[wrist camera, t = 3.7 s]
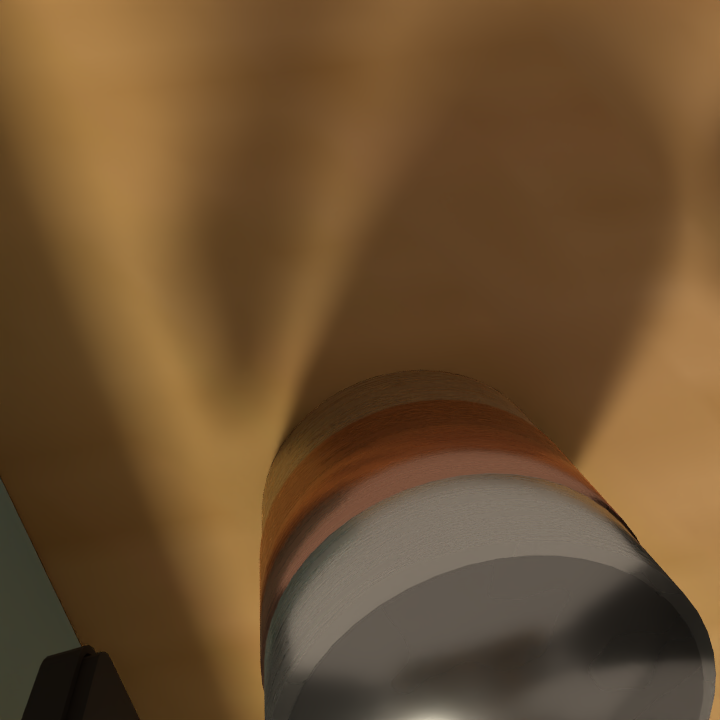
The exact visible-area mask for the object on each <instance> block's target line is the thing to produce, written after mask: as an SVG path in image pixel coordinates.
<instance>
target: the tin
mask: <svg viewBox="0 0 720 720" xmlns="http://www.w3.org/2000/svg"><path fill="white" fill-rule="evenodd" d="M260 663H261V675H262V685H263V689H264V695H265V720H709V718H710V713H711V709H712V704H713V699H714V693H715V678H716V671H715V662H714V652H713V649H712V645H711V642H710V638H709V635H708V631H707V629H706V627H705V625H704V623H703V621H702V619H701V617H700V615H699V613H698V612H697V610H696V609H695V608H694V606H693V605H692V604H691V602H690V601H689V600H688V598H687V597H686V596H685V594H684V593H683V592H682V591H681V590H680V589H679V588H678V586H677V585H676V584H675V583H674V582H673V581H672V580H671V579H670V577H669V576H668V575H667V574H666V573H665V572H664V571H663V570H662V568H661V567H660V566H659V565H658V564H657V563H656V562H655V561H654V559H653V558H652V557H651V556H650V555H649V554H648V553H647V552H646V550H645V549H644V548H643V547H642V546H641V545H640V543H639V541H638V540H637V538H636V536H635V535H634V534H633V532H632V531H631V530H630V528H629V527H628V526H627V524H626V523H625V522H624V520H623V519H622V518H621V517H620V516H619V515H618V514H617V513H616V512H615V510H614V509H613V508H612V507H611V506H610V505H609V504H608V503H607V502H606V500H605V499H604V498H603V497H602V496H601V495H600V494H599V493H598V492H597V490H596V489H595V488H594V487H593V486H592V485H591V484H590V483H589V482H588V480H587V479H586V478H585V477H584V476H583V475H582V474H581V473H580V472H579V470H578V469H577V468H576V467H575V466H574V465H573V464H572V463H571V462H570V460H569V459H568V458H567V457H566V456H565V455H564V454H563V453H562V452H561V450H560V449H559V448H558V447H557V446H556V445H555V444H554V443H553V442H552V441H551V440H550V439H549V438H548V437H547V436H546V435H545V434H543V433H542V432H541V431H540V430H539V429H537V428H536V427H535V426H534V424H533V423H532V422H531V421H530V420H529V419H528V418H527V417H526V415H525V414H524V413H523V412H522V411H521V410H520V409H519V408H518V407H517V406H516V405H515V404H514V403H513V402H512V401H510V400H509V399H508V398H507V397H505V396H504V395H502V394H501V393H499V392H498V391H497V390H495V389H493V388H491V387H489V386H487V385H485V384H483V383H481V382H479V381H477V380H474V379H471V378H468V377H465V376H462V375H458V374H452V373H447V372H442V371H427V370H417V371H402V372H396V373H391V374H386V375H381V376H377V377H374V378H371V379H368V380H365V381H362V382H359V383H357V384H355V385H353V386H351V387H349V388H346V389H344V390H342V391H340V392H339V393H337V394H336V395H334V396H332V397H331V398H329V399H327V400H326V401H324V402H323V403H322V404H320V405H319V406H318V407H317V408H315V409H314V410H313V411H312V412H310V413H309V414H308V415H307V416H306V417H305V418H304V419H303V420H302V421H301V422H300V423H299V424H298V425H297V426H296V427H295V428H294V430H293V431H292V432H291V434H290V435H289V436H288V438H287V439H286V440H285V442H284V443H283V445H282V446H281V448H280V450H279V452H278V454H277V455H276V457H275V459H274V461H273V464H272V466H271V469H270V471H269V474H268V476H267V480H266V484H265V489H264V493H263V502H262V539H261V548H260Z"/></svg>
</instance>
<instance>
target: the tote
mask: <svg viewBox="0 0 720 720" xmlns="http://www.w3.org/2000/svg"><path fill="white" fill-rule="evenodd" d="M78 647H81V645H80V643H79V641H78V639H77V637H76V635H75V633H74V630H73V628H72V626H71V624H70V622H69V620H68V618H67V616H66V614H65V612H64V610H63V607H62V605H61V603H60V601H59V599H58V597H57V595H56V593H55V591H54V589H53V587H52V585H51V582H50V580H49V578H48V576H47V574H46V572H45V570H44V568H43V566H42V564H41V562H40V559H39V557H38V555H37V553H36V551H35V549H34V547H33V545H32V543H31V541H30V539H29V537H28V534H27V532H26V530H25V528H24V526H23V524H22V522H21V520H20V518H19V516H18V514H17V511H16V509H15V507H14V505H13V503H12V501H11V499H10V497H9V495H8V493H7V491H6V488H5V486H4V484H3V482H2V480H1V478H0V720H21V719H22V716H23V713H24V710H25V707H26V705H27V702H28V699H29V696H30V693H31V690H32V688H33V685H34V682H35V679H36V676H37V674H38V671H39V668H40V665H41V663H42V661H43V660H44V659H45V658H46V657H47V656H50V655H54V654H57V653H61V652H64V651H68V650H71V649H75V648H78Z"/></svg>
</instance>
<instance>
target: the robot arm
mask: <svg viewBox="0 0 720 720" xmlns="http://www.w3.org/2000/svg"><path fill="white" fill-rule="evenodd" d="M21 720H140V719H139V717H138V715H137V713H136V711H135V709H134V707H133V704H132V702H131V700H130V698H129V696H128V694H127V692H126V690H125V688H124V686H123V684H122V682H121V679H120V677H119V675H118V673H117V671H116V669H115V667H114V665H113V663H112V661H111V659H110V657H109V655H108V654H107V653H106V652H100V653H97V654H96V652H95V650H94V649H93V648H92V647H91V646H89V645H86V646H82V647H78V648H75V649H71V650H68V651H64V652H61V653H57V654H54V655H50V656H47V657H46V658H45V659H44V660H43V661H42V663H41V665H40V668H39V671H38V674H37V676H36V679H35V682H34V685H33V688H32V690H31V693H30V696H29V699H28V702H27V705H26V707H25V710H24V713H23V716H22V719H21Z"/></svg>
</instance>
